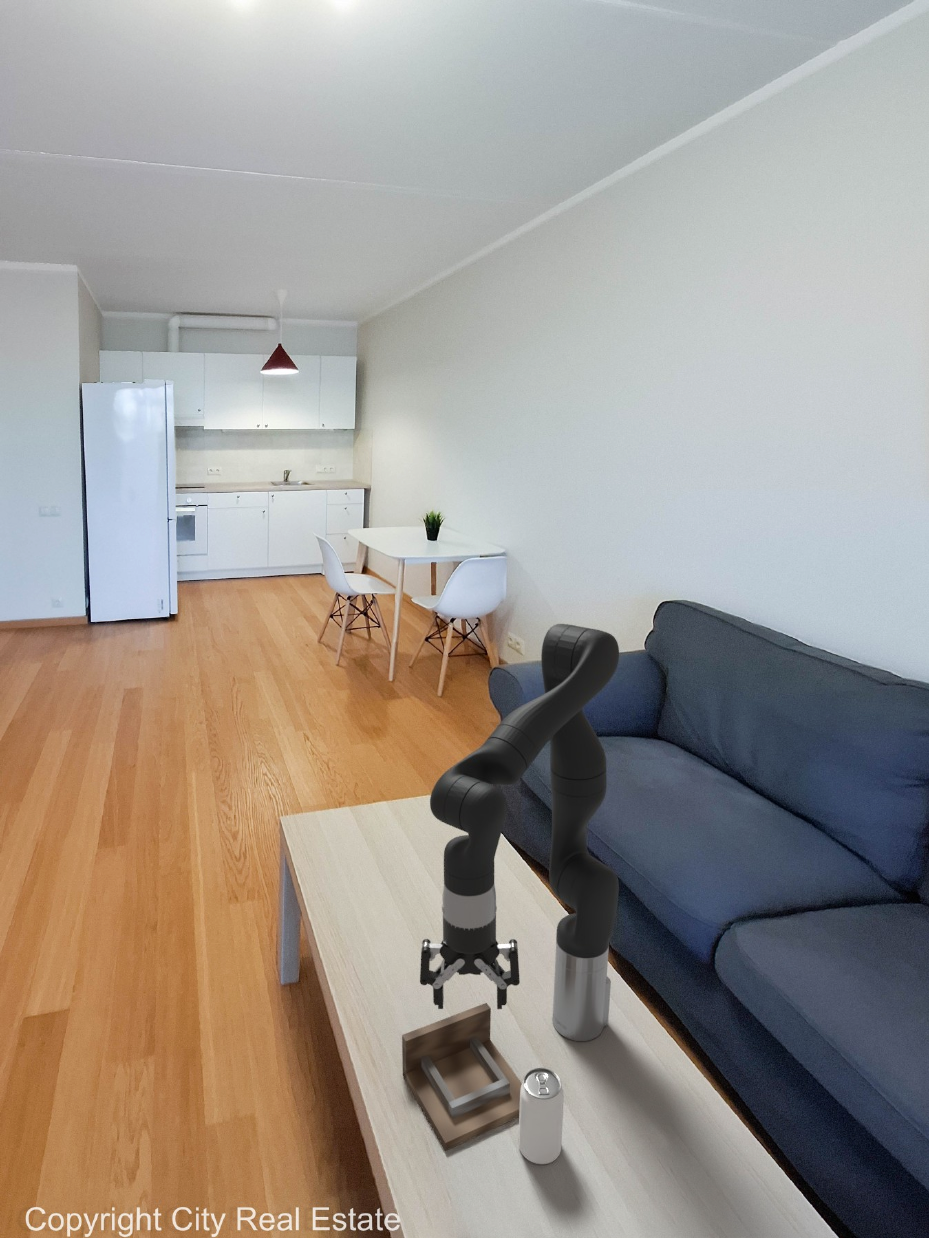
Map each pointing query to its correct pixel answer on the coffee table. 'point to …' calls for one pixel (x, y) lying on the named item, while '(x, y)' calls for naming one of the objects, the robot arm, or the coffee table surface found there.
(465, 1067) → the wall board
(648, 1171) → the coffee table surface
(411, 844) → the coffee table surface
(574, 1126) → the coffee table surface
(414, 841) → the coffee table surface
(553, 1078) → the can
